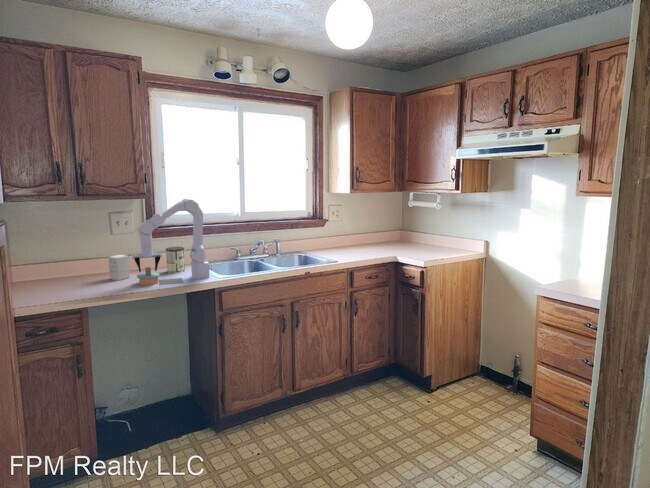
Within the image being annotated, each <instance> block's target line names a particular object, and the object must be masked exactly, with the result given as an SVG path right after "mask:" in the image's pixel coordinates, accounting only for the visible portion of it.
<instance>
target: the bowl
mask: <svg viewBox="0 0 650 488" xmlns="http://www.w3.org/2000/svg"><path fill="white" fill-rule="evenodd" d="M158 280H159V276H158V277H155V278H149V279H141V278H138V284H139V286H140V285H141V286H151V285H152V286H153V285H156V284H159V281H158Z"/></svg>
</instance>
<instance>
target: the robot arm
mask: <svg viewBox="0 0 650 488" xmlns="http://www.w3.org/2000/svg"><path fill="white" fill-rule="evenodd" d="M178 212H187V213H189V214H190V215H191V216H192V218H193V219H192V221H193V223H192V227H193V228H192V246H191V251H189V257H190V259H191V262H190V264H191V265H190V267H191V268H190V269H191V270H190V271H191V275H189V276H190V278H191V280H198V279H200V280H201V279H209V278H210V264H209V261H208V260H207V261H205V260H206V257H207V255H206V253H205V248H204V244H203V242H204V241H203V240H204V239H203V238H204V237H203V236H204V234H203V233H204V213H203V211H202V209H201V208H200V205H199V203H198V202H196V201H195V200H193V199H189V198H183V199H182V200H181V201H178V202H176V203H175V204H174V205H173V206H171V207H170V208H168V209H166V210H165V211H164V212H162V213H156V214H155V213H154V214H153V216H152V217H150V218H149V219H148V220H147V219H146V220H145V222H142V223H140V224H139V226H138V228H137V229H138V231H139V232H140V233H139V236H140V238H139V239H140V253H135V254H131V259H132V260H134V263H136V265H137V268H138V271H139V273H141V272H142V269H141V259H148V258H149V259H151V258H154V272H157V271H158V266H159V263H160V260H161V258H162V257H163V253H162V252H154V250H153V249H154V247H153V245H154V244H153V236H152V233H153V231H154V230H156V229H157V228H159V227H160V226H161V225H163V224H165V222H166V219H168V218H170V217H171V216H173V215H175V214H176V213H178Z"/></svg>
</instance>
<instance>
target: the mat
mask: <svg viewBox="0 0 650 488" xmlns="http://www.w3.org/2000/svg"><path fill="white" fill-rule="evenodd" d="M184 283H185V282H184V280H183V278H182V277H177V278H164V279H163V278H162V279H158V284H159V286H166V285H167V286H168V285H176V284H177V285H178V284H184Z"/></svg>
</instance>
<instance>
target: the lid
mask: <svg viewBox="0 0 650 488" xmlns="http://www.w3.org/2000/svg"><path fill="white" fill-rule="evenodd" d="M144 269H145V272H142V273H141V272H140V273H138V274H137V275H136V278H137V279H139V278H141V279H149V278H155V277H158V278H159V277H160V275H161V274H160V273H159V272H156V271H154V272H151V271H152V270H151V266H145V268H144Z"/></svg>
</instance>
